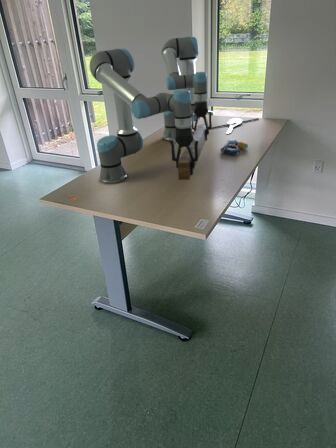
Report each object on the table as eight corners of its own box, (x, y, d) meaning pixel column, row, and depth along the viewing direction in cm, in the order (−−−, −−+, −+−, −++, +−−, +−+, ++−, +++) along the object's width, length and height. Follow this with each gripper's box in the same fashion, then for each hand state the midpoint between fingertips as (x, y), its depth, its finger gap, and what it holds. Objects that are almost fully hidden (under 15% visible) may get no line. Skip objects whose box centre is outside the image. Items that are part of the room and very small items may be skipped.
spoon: (235, 136, 245) (235, 133, 244) (220, 135, 249) (220, 132, 248) (243, 120, 272) (243, 117, 270) (230, 120, 275) (230, 117, 274)
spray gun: (250, 145, 220) (228, 144, 226) (250, 139, 217) (228, 138, 224) (241, 157, 204) (218, 155, 211) (242, 150, 202) (218, 149, 208)
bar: (198, 138, 213) (198, 124, 209) (206, 138, 212) (206, 124, 207) (178, 179, 160) (177, 162, 156) (189, 179, 159) (188, 162, 155)
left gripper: (162, 129, 151) (166, 176, 163) (202, 128, 146) (203, 177, 159) (166, 124, 157) (169, 170, 169) (204, 124, 152) (205, 171, 165)
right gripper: (184, 102, 195) (186, 141, 207) (215, 102, 190) (215, 141, 203) (186, 100, 201) (188, 137, 213) (217, 99, 197) (217, 137, 209)
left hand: (185, 174), depth 164 cm, fingers closed on bar, 5 cm apart
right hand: (201, 139), depth 208 cm, fingers closed on bar, 5 cm apart
